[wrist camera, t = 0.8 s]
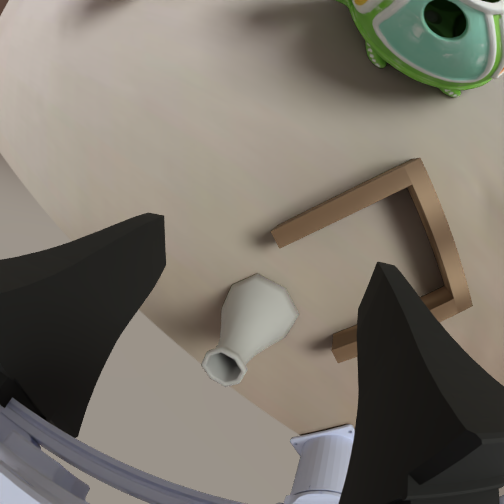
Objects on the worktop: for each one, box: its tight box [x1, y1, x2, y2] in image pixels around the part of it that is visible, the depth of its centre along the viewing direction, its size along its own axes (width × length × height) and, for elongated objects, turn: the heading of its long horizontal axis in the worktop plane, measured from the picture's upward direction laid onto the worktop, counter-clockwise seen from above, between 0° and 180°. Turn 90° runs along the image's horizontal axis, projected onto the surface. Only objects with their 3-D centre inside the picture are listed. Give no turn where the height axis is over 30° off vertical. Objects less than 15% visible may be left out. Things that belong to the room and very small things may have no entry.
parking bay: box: [271, 158, 473, 363], centre depth 24 cm, size 13×13×3 cm
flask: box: [201, 273, 299, 387], centre depth 26 cm, size 7×7×10 cm
